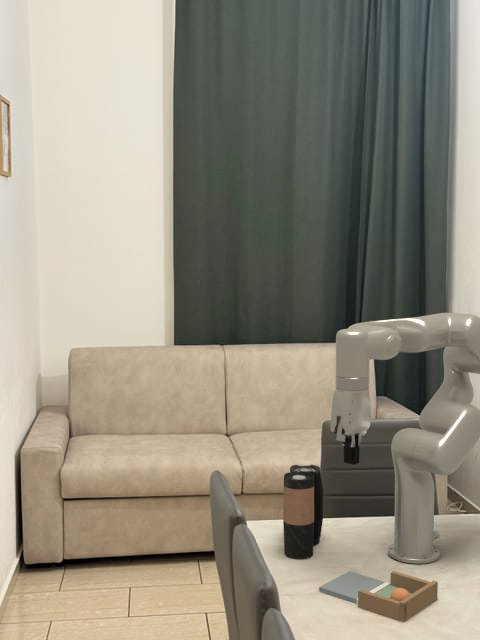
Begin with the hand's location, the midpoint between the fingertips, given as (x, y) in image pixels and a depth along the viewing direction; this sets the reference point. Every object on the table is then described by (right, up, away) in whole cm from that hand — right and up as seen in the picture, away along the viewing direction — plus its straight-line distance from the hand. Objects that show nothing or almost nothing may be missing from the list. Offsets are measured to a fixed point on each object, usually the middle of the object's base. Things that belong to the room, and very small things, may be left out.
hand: (351, 462), depth 194 cm
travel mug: (-11, -26, +17) cm, 33 cm away
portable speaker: (-9, -25, +26) cm, 37 cm away
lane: (+4, -28, -8) cm, 29 cm away
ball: (+8, -26, -15) cm, 31 cm away
